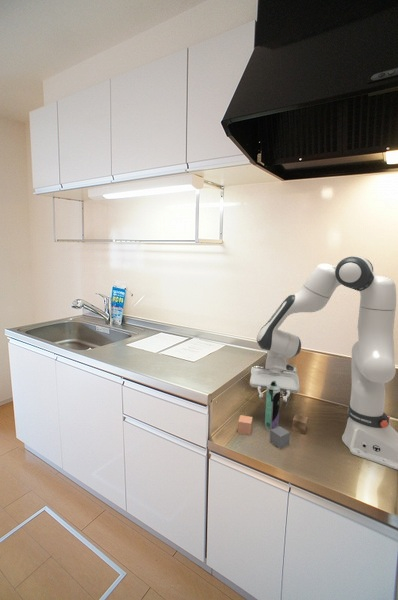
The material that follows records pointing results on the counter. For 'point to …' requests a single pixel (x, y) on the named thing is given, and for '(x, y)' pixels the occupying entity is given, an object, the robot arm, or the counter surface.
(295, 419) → the walnut block
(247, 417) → the terracotta block
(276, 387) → the spray can
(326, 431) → the counter surface
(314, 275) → the robot arm
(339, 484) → the counter surface
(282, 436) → the charcoal block
